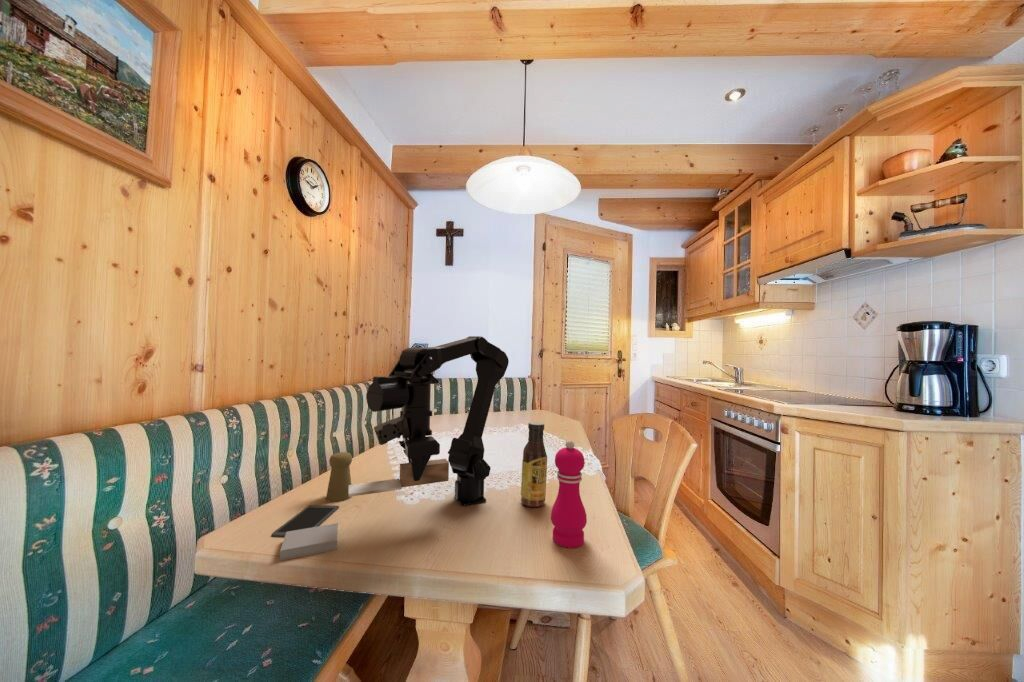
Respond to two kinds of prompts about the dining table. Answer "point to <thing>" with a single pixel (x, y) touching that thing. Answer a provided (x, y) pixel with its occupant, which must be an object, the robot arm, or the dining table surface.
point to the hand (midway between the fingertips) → (415, 478)
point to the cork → (339, 477)
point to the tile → (309, 541)
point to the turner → (405, 479)
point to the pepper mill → (569, 498)
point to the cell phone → (306, 519)
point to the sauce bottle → (534, 467)
